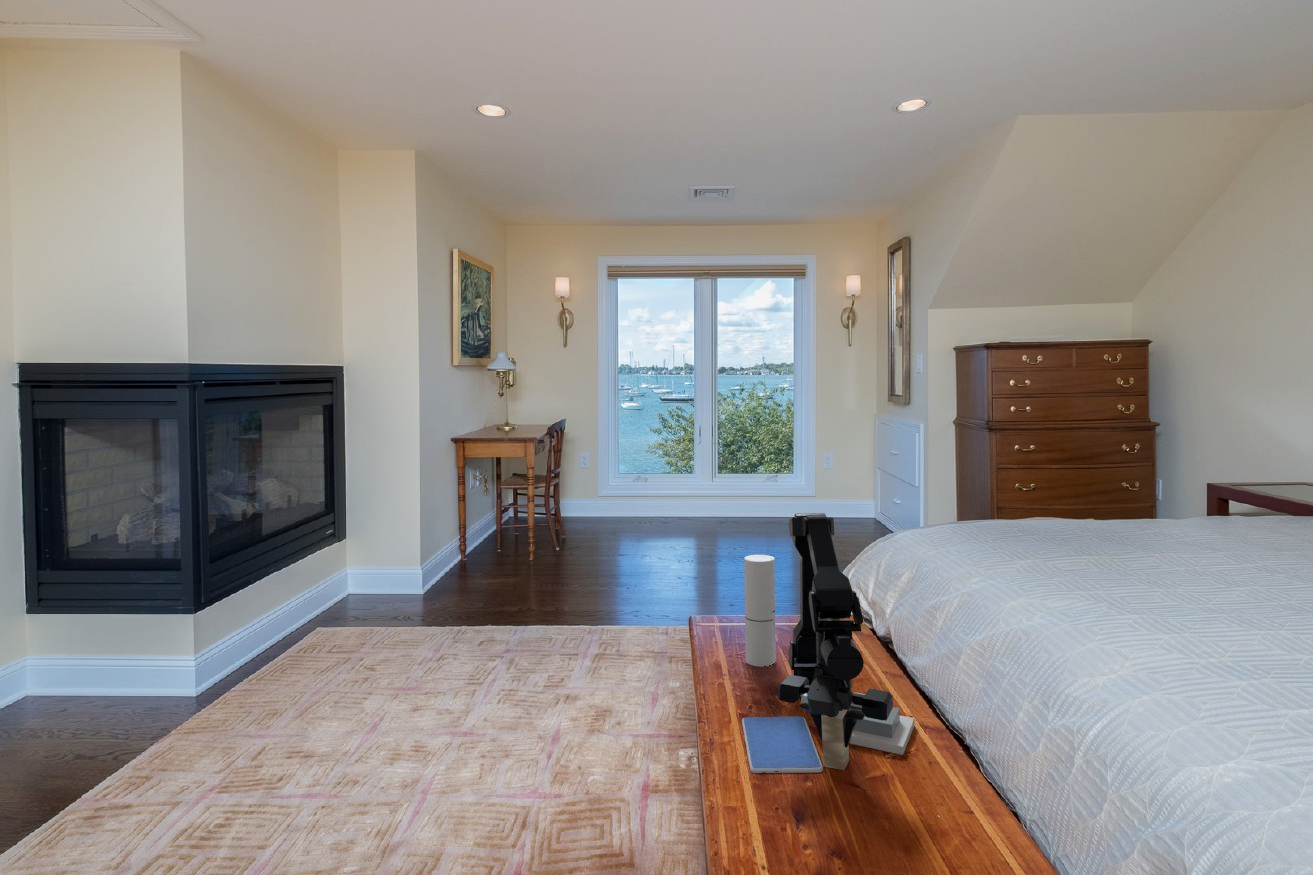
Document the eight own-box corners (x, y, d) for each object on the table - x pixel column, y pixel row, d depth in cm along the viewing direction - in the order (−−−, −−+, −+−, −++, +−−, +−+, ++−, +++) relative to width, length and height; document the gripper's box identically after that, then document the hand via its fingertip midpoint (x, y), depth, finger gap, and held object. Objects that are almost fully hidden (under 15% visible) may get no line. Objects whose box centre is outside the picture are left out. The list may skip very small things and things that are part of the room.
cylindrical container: (780, 658, 172) (779, 556, 171) (769, 668, 166) (767, 562, 165) (752, 653, 176) (751, 553, 174) (741, 663, 170) (739, 559, 168)
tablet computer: (824, 775, 122) (824, 767, 122) (750, 775, 122) (750, 768, 122) (804, 721, 141) (804, 715, 141) (741, 722, 142) (740, 716, 142)
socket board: (835, 740, 132) (835, 719, 132) (851, 713, 143) (851, 693, 143) (902, 754, 127) (902, 733, 126) (914, 725, 137) (914, 705, 137)
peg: (823, 766, 124) (821, 715, 123) (828, 756, 127) (826, 707, 126) (844, 770, 122) (842, 719, 121) (849, 760, 125) (847, 710, 125)
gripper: (765, 664, 121) (768, 753, 122) (879, 683, 111) (880, 779, 113) (787, 642, 130) (789, 725, 131) (893, 658, 121) (894, 747, 122)
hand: (835, 743), depth 124 cm, fingers closed on peg, 4 cm apart
